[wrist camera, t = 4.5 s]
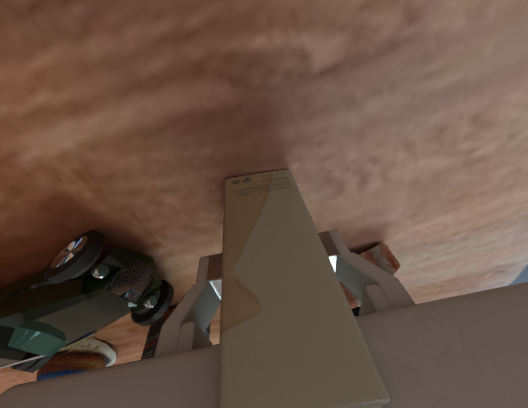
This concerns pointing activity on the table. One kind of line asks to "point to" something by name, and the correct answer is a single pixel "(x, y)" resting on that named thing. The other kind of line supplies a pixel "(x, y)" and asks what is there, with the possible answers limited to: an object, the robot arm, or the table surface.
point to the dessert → (78, 359)
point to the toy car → (74, 302)
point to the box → (285, 308)
